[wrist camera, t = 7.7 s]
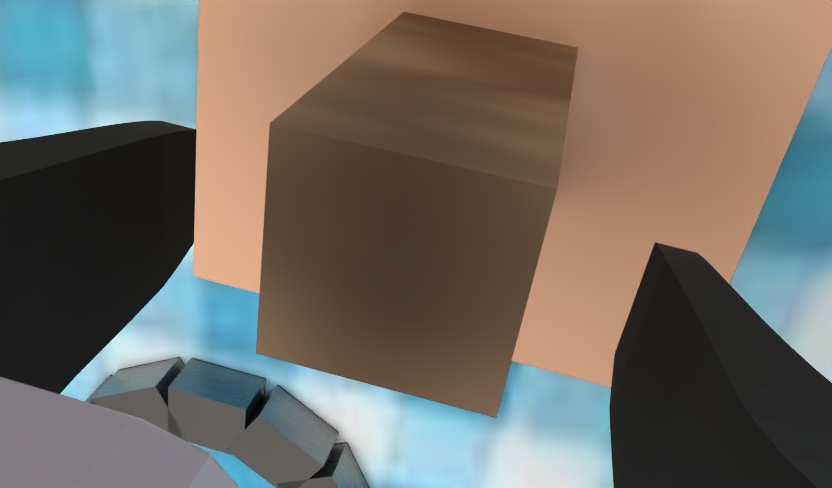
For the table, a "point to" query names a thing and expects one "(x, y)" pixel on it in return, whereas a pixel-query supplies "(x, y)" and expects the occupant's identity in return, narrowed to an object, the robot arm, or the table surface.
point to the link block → (414, 209)
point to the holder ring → (234, 421)
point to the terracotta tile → (583, 147)
